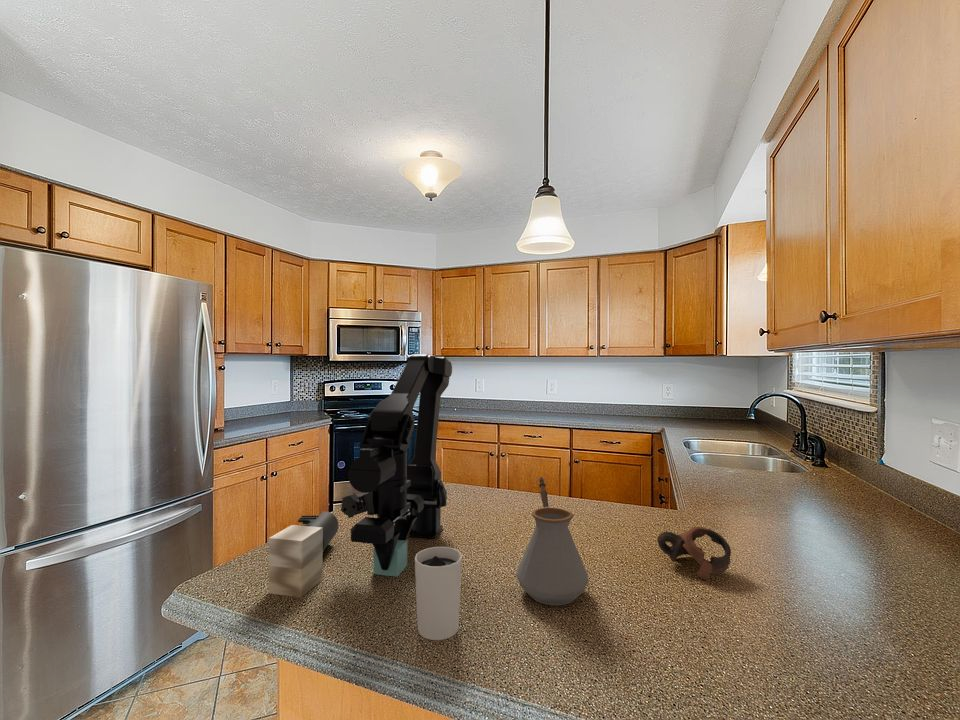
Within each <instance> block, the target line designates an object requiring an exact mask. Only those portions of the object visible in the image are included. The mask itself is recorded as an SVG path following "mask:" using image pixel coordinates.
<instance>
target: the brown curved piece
mask: <svg viewBox="0 0 960 720" xmlns="http://www.w3.org/2000/svg"><path fill="white" fill-rule="evenodd" d="M705 535H706V536H707V537H709V538H710V539H711V542H713V543H715V544H718V545H720V546H721V547H722V548H723V551H724V555H721V556H713V555H712V556H710V560H708V559H705V552H704V551H703V550H704V549H702V548H701V547H699V546H697V544H696V543H695V541H696V540H697V539H699V538H702V537H704V536H705ZM656 541H657V543H658V546H659V548H660V550H661V551H662V552H663V553H664V554H665V555H668V557H669V558H670V560H671V562H673V563H675V562H676V559H677V558H678V557H680V556H686V555H687V556H690V557H692V558H693V559H694V560H695V561H696V562H697V563H698V564H699V565H700V566H699V570H698V571H697V572H696V574H697V577H698V578H700V579H702V580H707V579H709V578H711V576H716V575H719V574H721V573H724V572H725V571H726V570H728V569H729V567H730V566H729V565H731V555H732V549H731V546H730V544H729V543H728V542H727V540H726V539H725V538H724V537H723V536H722V535H721V534H719V533H718V532H717V531H715V530H713V529H710V528H707V527H704V526H694V527H691V528H690V529H689V530H685V531H683V532H682V533H680V534H676V533H674V532H672V531H663V532H661V533H660V534H659V535H658V536H657V538H656ZM667 543H670V544H671V546H670V545H668V544H667Z"/></svg>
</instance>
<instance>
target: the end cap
mask: <svg viewBox="0 0 960 720" xmlns="http://www.w3.org/2000/svg"><path fill="white" fill-rule="evenodd" d="M297 522H298V523H302V524H300V526H311V527H323V552H324V551H325V549H326V548H327V546H329V544H330V543H331V542H332V540H333V538H334V537H335V536H336V534H337V533H338V530H339V521H338V519H337V517H336V516H335V515H334V514H333V513H332V512H330V511H326V510H323V511H322V512H321V513H320V514H319V515H302V516H300V517H299V518H298V519H297Z"/></svg>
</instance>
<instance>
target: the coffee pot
mask: <svg viewBox="0 0 960 720" xmlns="http://www.w3.org/2000/svg"><path fill="white" fill-rule="evenodd" d="M537 481H539V484H538V483H537ZM545 482H546V483H545ZM535 484H536V485H537V486H538V487H539V488H540V491H539V493H540V499H541V502H542V506H543V507H540V508H537V509H534V510H533V511H532V513H531V516H532V518H534V521H535V527H534V530H533V531H532V535H531V537H530V539H529V541H528V544H527V545H526V548H525V550H524V554H523V556H522V558H521V561H520V562H519V565H518V566H517V567H518V568H517V570H516V571H517V572H516V579H517V580H518V584H519V585H520V587H521V588H522V589H523V590H524V592H526V594H527V595H528V596H529V597H530V598H531V599H533V600H535V602H537V603H540V604H543V605H546V606H547V605H549V606H564V605H568V604H570V603H572V602H574V601H575V600H576V598H579V596H581V594H583V593H584V592H585V591H586V588H587V586H588V583H589V577H588V576H589V575H588V573H587V570H586V568H585V564H584V562H583V560H582V557H581V555H580V554H579V551H578V548H577V547H576V543H575V541H574V539H573V537H572V534H571V530H570V529H569V525H570V523H571V521H572V519H573V518H574V516H575V514H574V513H573V512H571V511H569V510H566V509H563V508H560V507H559V508H558V507H549V499H548V491H547V489H546V485H547V484H548V480H547V479H546V478H543V477H542V476H540V477H539V478H537V479H535Z"/></svg>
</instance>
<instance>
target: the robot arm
mask: <svg viewBox="0 0 960 720" xmlns="http://www.w3.org/2000/svg"><path fill="white" fill-rule="evenodd" d="M405 363H406V365H405V366H404V369H403V370H402V372H401V374H400V376H399V378H398V380H397V382H396V383H395V386H394V388H393V390H392V391H391V394H390V395H389V396H387V397H386V398H384V399H382V400H381V401H379V402H378V403H377V404H376V405H375V407H374V408H373V409H372V411H371V413H370V414H369V415H368V418H367V420H366V425H365V426H364V430H363V434H362V436H361V440H360V442H359V457H357V458H355V459H354V460H353V461H352V462H351V464H350V465H349V468H348V470H347V478H348V482H349V484H350V486H351V487H352V488H353V489H354V490H355V491H357V492H359V493H355V492H353V493H351V494H347V495H345V496H343V497H342V498H341V503H340V504H341V507H340V511H341V513H343V515H346V516H347V517H348V519H351V518H353V517H355V516H357V515H361V514H364V513H365V512H367V513H366V515H367V516H364V518H362V519H360V520H359V521H358V522H356V523H355V524H354V525H353V526H352V527H351V528H350V541H351V542H353V543H361V544H362V543H363V544H372V545H373V549H374V548H375V551H376V554H377V557H378V560H379V563H380V566H381V569H382V570H388V568H389V565H390V563H391V560H392V556H393V553H394V550H395V547H396V543H397V540H404V541H408V537H411V538H412V537H413V538H415V537H416V538H426V539H435V538H436V537H437V536H438V535H439V534H440V532H441V531H442V530H443V529H444V525H442V523H441V513H442V512H441V508H443V507H446V506H447V499H448V496H447V495H448V491H447V489H446V487H445V485H444V483H443V480H442V471H441V470H440V467H439V465H438V463H437V460H436V454H437V440H438V432H439V431H438V429H439V418H440V407H441V406H440V405H441V396H442V395H443V394H444V392H445V391H446V389H447V388H448V386H449V384H450V377H451V376H452V374H453V366H452V362H451V361H449V360H448V358H447V357H446V356H433V355H430V354H428V353H424V354H423V353H422V354H421V353H420V354H419V353H416V354H415V353H413V354H411V355H408V356H407V358H406V362H405ZM418 398H419V403H418V413H417V423H416V424H415V417H414V414H413V409H414V406H415V404H416V403H417V402H416V401H417V399H418ZM415 427H416V430H415V431H416V432H415V440H414V450H413V451H414V452H413V458H412V459H411V461H410V462H409V464H408V453H407V452H408V448H410V442H411V441H410V440H411V438H412V435H413V431H414V429H415ZM375 515H376V517H373V516H375ZM369 516H372V517H369Z"/></svg>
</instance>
